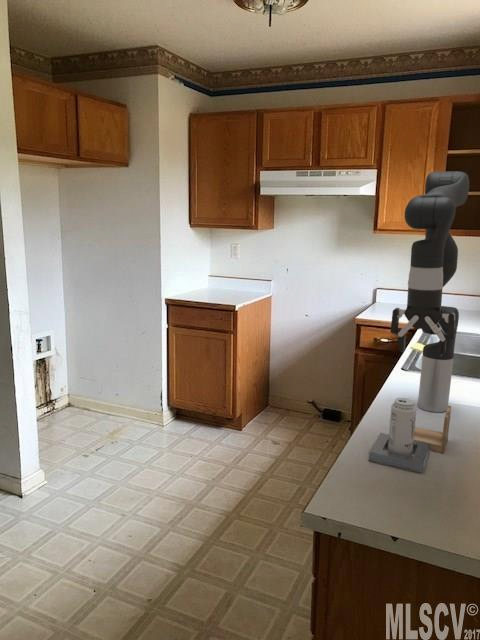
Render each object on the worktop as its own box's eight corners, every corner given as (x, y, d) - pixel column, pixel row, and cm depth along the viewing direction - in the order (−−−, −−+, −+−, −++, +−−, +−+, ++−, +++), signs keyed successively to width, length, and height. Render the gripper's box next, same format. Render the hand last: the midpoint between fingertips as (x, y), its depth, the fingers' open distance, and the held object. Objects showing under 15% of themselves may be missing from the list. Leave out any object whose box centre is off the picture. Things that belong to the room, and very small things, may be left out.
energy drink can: (409, 463, 131) (415, 407, 128) (385, 458, 134) (389, 402, 130) (413, 454, 136) (418, 399, 133) (390, 449, 139) (394, 395, 136)
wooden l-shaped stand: (413, 433, 149) (417, 400, 147) (447, 440, 145) (451, 406, 143) (408, 445, 141) (411, 410, 139) (443, 453, 137) (447, 417, 135)
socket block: (379, 441, 143) (380, 432, 143) (429, 451, 138) (430, 443, 137) (368, 460, 132) (369, 451, 131) (422, 473, 126) (423, 463, 126)
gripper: (460, 285, 120) (455, 353, 124) (397, 281, 127) (394, 346, 131) (456, 290, 114) (450, 361, 118) (390, 286, 121) (386, 353, 124)
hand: (420, 353), depth 124 cm, fingers open, 8 cm apart
